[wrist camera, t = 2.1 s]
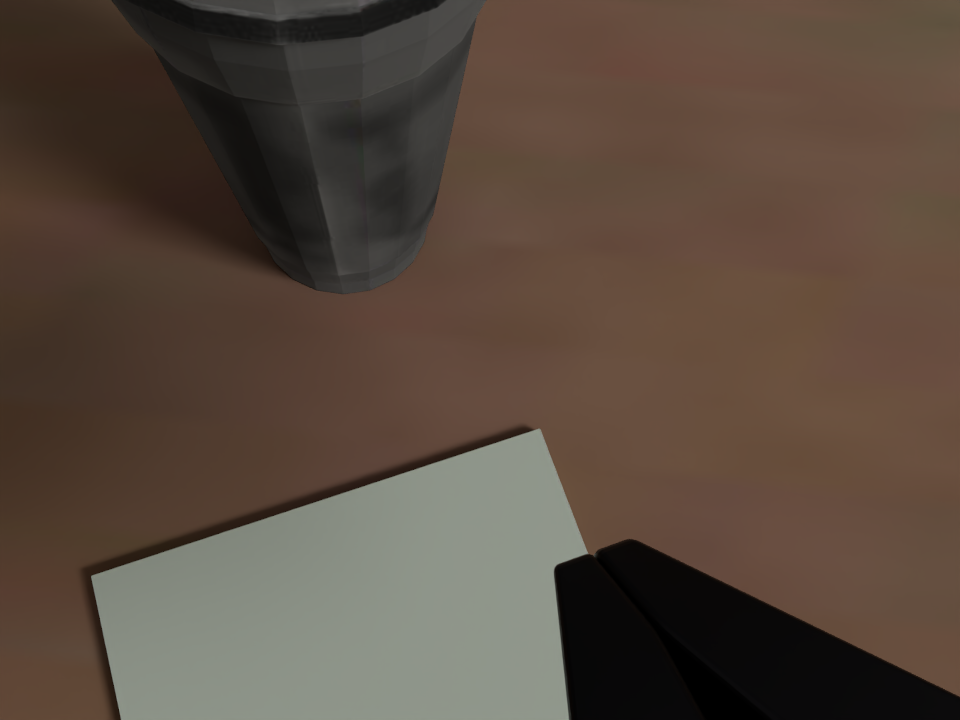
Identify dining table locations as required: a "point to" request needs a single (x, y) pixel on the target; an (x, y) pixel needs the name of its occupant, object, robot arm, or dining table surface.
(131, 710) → the mat
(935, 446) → the dining table surface
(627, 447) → the dining table surface
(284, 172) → the beverage cup
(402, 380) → the dining table surface
